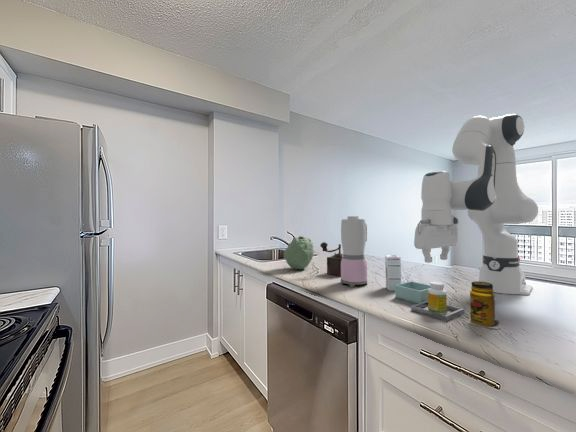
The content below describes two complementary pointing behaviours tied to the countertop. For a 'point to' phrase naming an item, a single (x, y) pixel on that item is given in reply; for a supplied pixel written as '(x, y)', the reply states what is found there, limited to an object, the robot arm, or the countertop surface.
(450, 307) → the socket collar
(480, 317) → the condiment
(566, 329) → the countertop surface
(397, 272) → the syrup box
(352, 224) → the blender
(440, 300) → the supplement bottle
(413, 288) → the bin
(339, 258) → the manual coffee grinder
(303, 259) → the cabbage
